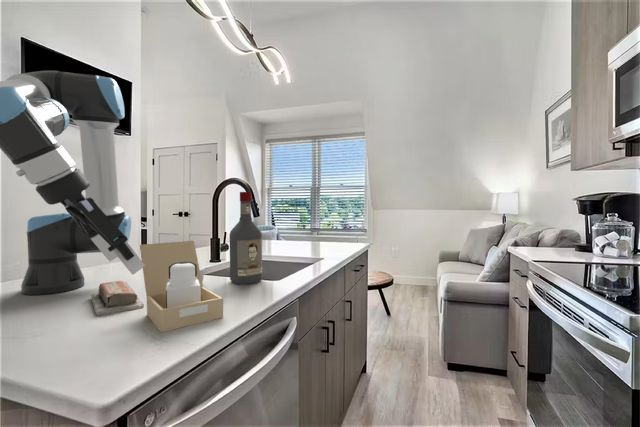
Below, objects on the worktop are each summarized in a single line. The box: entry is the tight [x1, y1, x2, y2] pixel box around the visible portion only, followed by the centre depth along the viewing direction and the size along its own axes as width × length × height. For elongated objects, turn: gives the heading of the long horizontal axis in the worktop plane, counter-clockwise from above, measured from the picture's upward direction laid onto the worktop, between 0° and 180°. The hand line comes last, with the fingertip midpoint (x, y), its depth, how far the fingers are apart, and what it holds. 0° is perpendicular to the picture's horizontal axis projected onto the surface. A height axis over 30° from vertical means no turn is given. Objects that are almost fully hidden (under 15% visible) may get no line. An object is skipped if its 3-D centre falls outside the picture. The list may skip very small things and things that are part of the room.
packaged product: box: [90, 280, 145, 317], centre depth 86 cm, size 18×5×10 cm
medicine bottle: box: [166, 262, 201, 308], centre depth 75 cm, size 7×7×12 cm
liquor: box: [229, 191, 263, 286], centre depth 109 cm, size 9×9×30 cm
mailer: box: [139, 240, 224, 333], centre depth 78 cm, size 20×13×16 cm, turn 39°
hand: (126, 263), depth 69 cm, fingers open, 13 cm apart
